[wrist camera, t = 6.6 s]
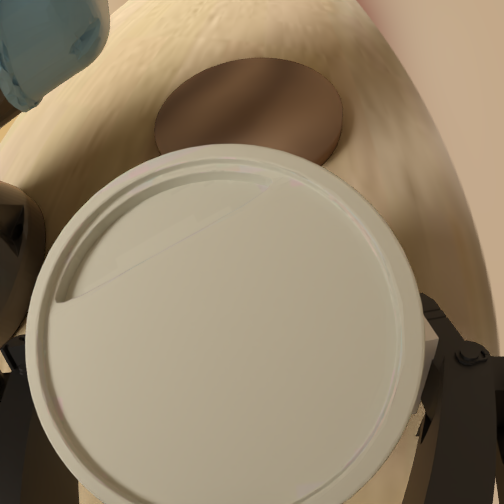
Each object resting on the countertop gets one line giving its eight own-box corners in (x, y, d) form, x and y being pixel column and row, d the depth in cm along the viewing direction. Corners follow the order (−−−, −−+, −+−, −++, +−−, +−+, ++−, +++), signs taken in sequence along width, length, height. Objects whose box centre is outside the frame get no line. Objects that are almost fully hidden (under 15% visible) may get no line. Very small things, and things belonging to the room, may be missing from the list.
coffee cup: (346, 291, 17) (417, 128, 6) (339, 448, 13) (424, 564, 2) (193, 285, 18) (68, 145, 7) (177, 434, 15) (0, 476, 4)
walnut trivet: (127, 163, 23) (119, 151, 21) (220, 62, 27) (217, 50, 26) (295, 226, 19) (295, 213, 17) (362, 93, 23) (364, 79, 21)
